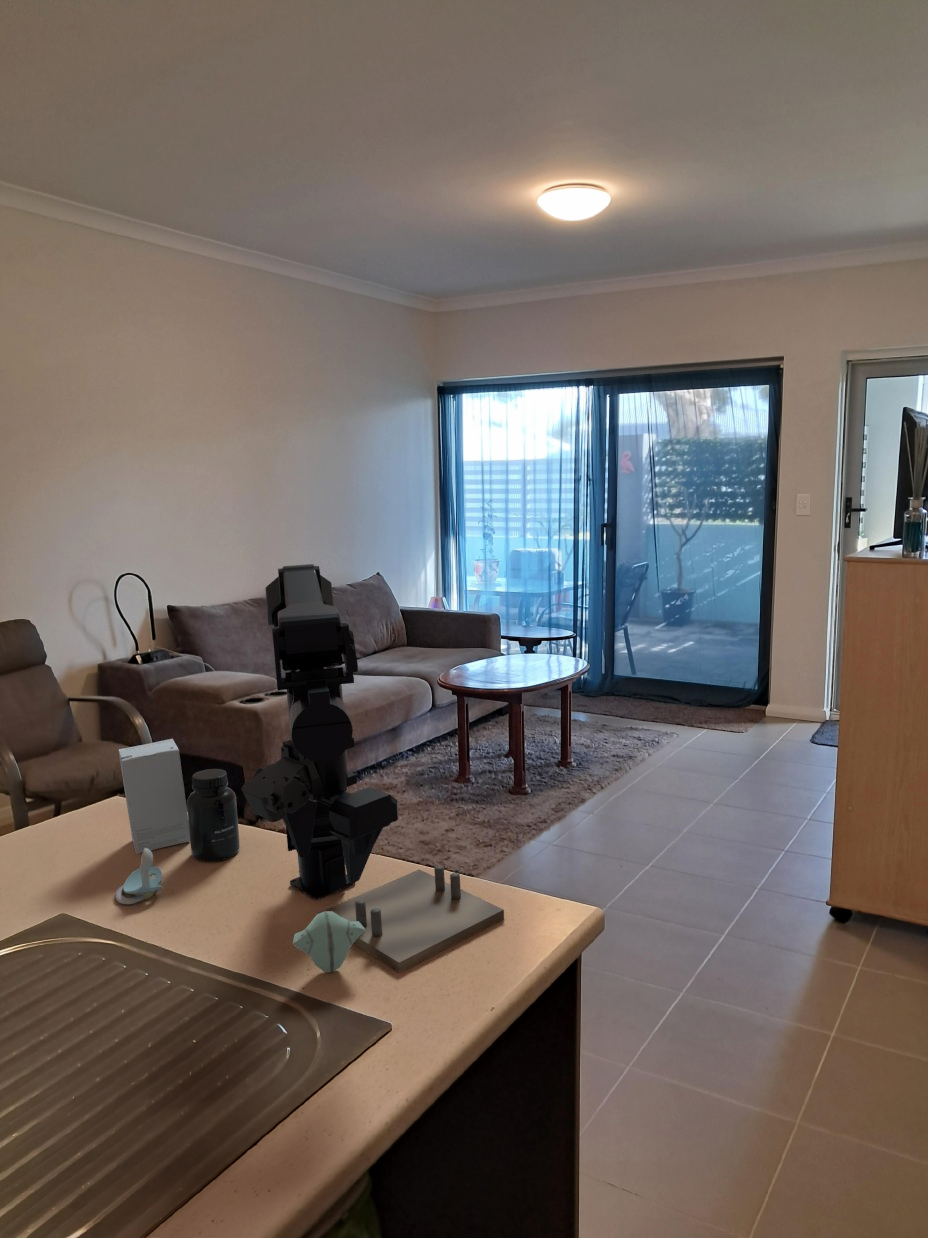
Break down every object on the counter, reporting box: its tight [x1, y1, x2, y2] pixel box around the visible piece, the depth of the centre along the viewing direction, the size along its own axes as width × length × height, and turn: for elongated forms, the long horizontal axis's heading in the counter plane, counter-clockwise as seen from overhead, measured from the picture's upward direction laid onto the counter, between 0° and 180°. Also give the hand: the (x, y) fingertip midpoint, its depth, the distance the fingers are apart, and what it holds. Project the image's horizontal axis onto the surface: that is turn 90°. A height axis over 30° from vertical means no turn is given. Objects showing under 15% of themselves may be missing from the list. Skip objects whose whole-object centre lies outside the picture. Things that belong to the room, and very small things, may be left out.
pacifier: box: [114, 848, 163, 905], centre depth 123 cm, size 7×6×6 cm
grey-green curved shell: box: [292, 910, 366, 973], centre depth 103 cm, size 8×4×7 cm, turn 107°
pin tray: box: [317, 865, 505, 973], centre depth 113 cm, size 16×16×4 cm
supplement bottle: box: [186, 768, 241, 863], centre depth 134 cm, size 7×7×12 cm
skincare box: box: [118, 738, 190, 855], centre depth 139 cm, size 8×6×15 cm
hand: (328, 868), depth 101 cm, fingers open, 9 cm apart
